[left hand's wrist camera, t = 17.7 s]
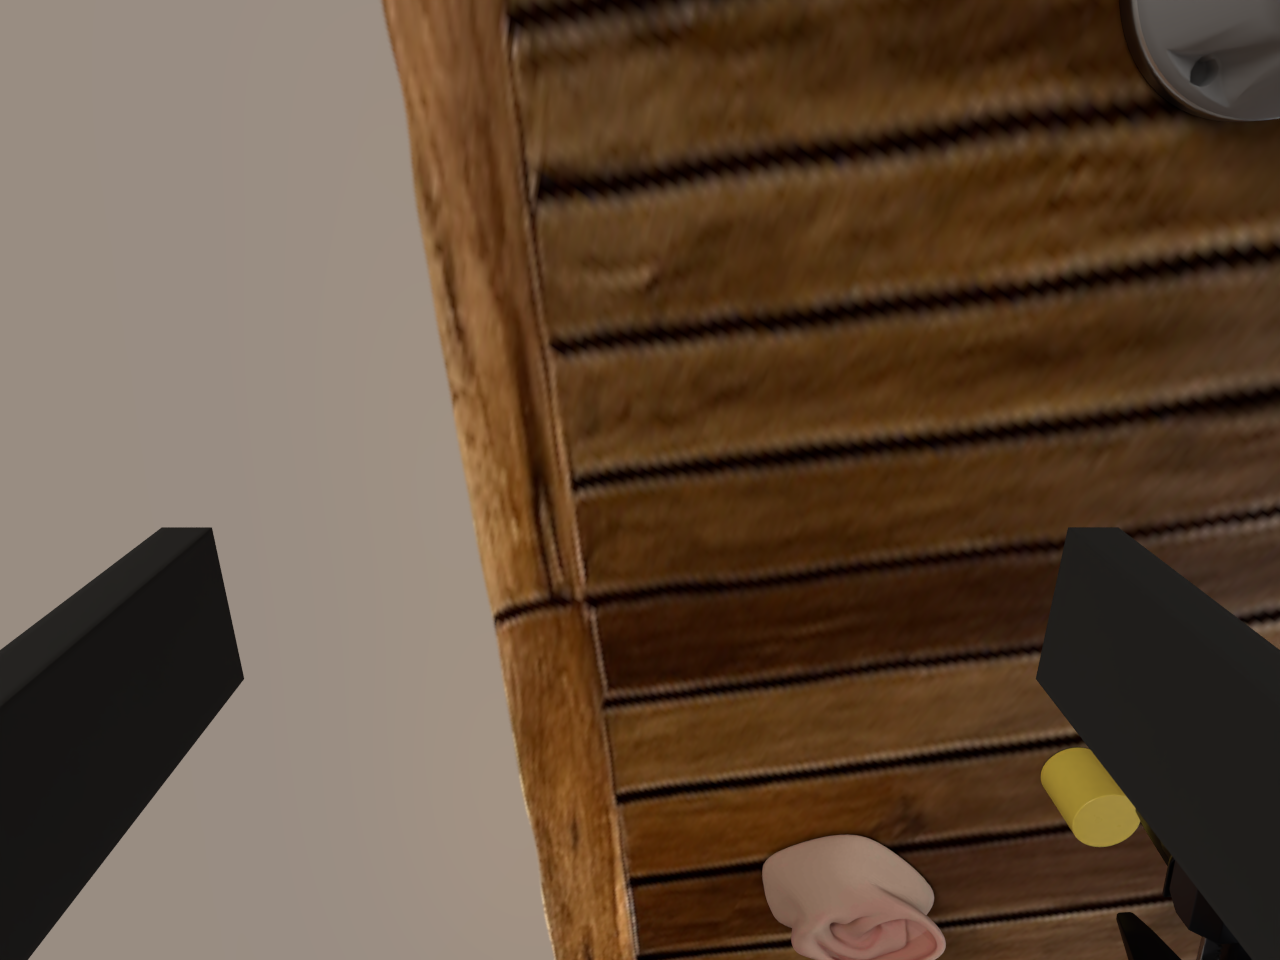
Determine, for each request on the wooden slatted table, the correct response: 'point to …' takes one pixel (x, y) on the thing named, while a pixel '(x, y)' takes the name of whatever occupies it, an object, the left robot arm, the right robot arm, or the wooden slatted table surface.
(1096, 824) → the canister
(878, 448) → the wooden slatted table surface
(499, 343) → the wooden slatted table surface
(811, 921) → the anatomical model
